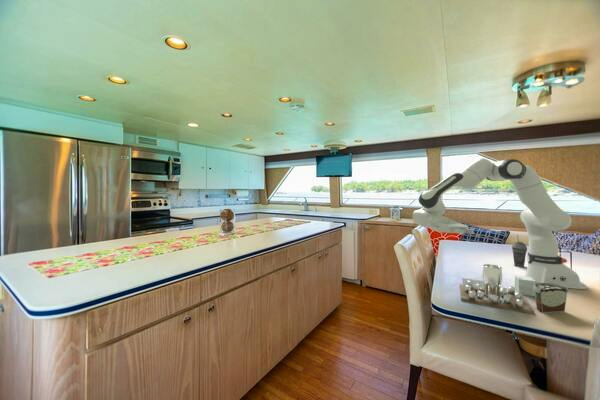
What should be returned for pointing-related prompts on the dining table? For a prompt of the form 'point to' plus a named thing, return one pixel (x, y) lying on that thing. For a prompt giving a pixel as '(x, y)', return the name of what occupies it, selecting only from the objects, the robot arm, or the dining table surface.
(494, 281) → the silver metal tumbler
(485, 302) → the board
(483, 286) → the grey mat
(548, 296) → the food container
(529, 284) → the skincare box
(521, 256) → the beverage cup
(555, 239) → the robot arm
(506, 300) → the spacers
